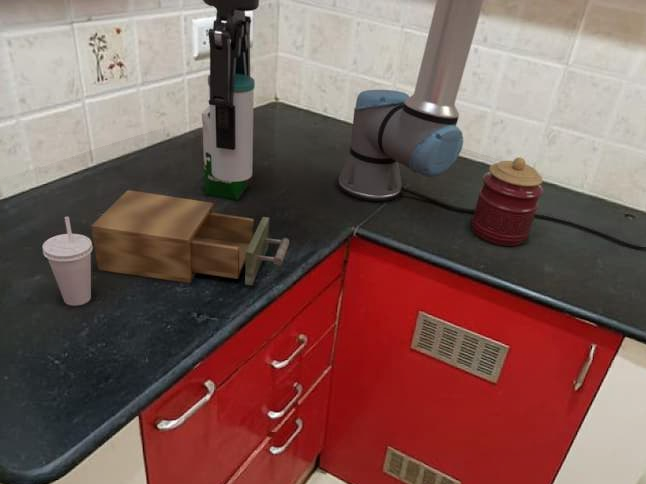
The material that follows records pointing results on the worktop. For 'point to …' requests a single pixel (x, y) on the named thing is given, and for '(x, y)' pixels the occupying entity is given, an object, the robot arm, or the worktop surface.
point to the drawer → (233, 247)
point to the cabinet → (149, 235)
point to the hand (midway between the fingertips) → (232, 139)
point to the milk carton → (211, 183)
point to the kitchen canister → (507, 203)
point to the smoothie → (71, 265)
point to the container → (239, 160)
